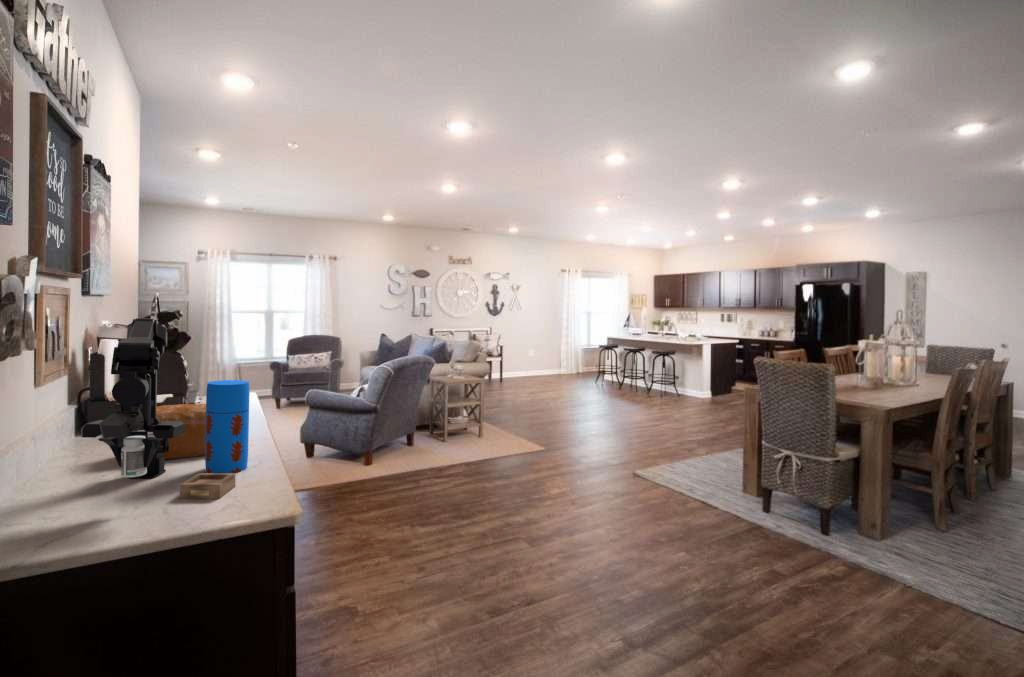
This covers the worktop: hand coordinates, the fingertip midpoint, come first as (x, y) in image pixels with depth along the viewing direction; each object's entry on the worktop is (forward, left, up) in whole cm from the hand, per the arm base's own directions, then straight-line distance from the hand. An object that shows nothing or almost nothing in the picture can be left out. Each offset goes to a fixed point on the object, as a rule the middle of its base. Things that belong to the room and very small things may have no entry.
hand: (134, 467), depth 115 cm
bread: (-14, +47, -10) cm, 50 cm away
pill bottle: (0, 0, -2) cm, 2 cm away
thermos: (+7, +31, -10) cm, 33 cm away
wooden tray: (+11, +11, -10) cm, 18 cm away
